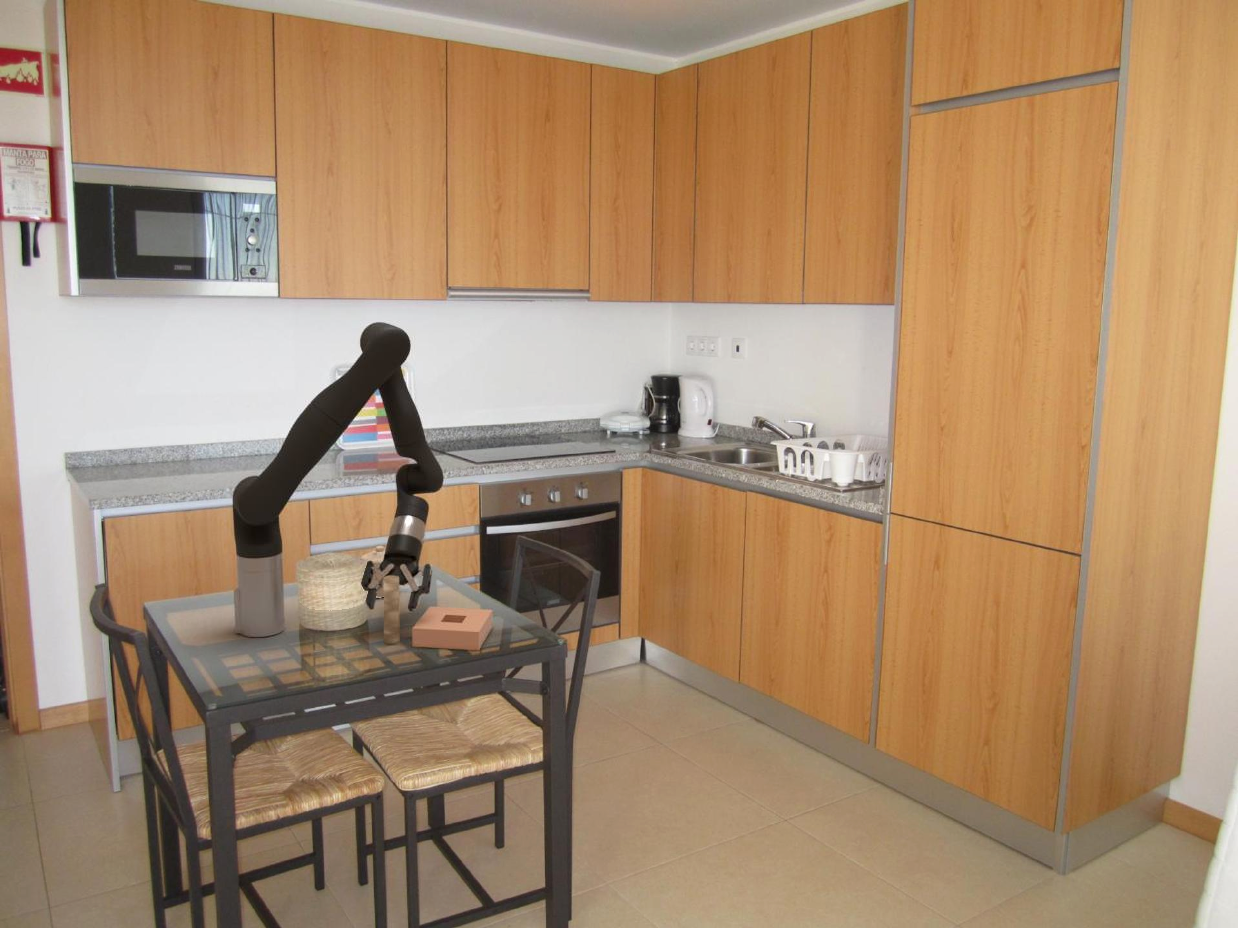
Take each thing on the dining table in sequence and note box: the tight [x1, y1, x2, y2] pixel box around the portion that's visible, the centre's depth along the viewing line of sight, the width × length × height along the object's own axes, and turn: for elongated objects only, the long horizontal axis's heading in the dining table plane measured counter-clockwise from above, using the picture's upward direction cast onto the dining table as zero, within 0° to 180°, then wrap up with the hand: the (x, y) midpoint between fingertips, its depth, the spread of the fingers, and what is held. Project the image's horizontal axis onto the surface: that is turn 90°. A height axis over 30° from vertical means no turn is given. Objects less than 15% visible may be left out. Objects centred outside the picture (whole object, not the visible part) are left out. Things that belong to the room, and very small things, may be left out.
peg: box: [383, 575, 401, 645], centre depth 212 cm, size 3×3×14 cm
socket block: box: [411, 606, 494, 651], centre depth 217 cm, size 14×14×4 cm
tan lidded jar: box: [360, 545, 386, 597], centre depth 245 cm, size 12×9×12 cm
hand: (390, 608), depth 211 cm, fingers open, 8 cm apart
